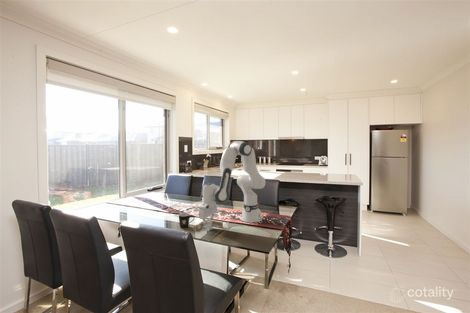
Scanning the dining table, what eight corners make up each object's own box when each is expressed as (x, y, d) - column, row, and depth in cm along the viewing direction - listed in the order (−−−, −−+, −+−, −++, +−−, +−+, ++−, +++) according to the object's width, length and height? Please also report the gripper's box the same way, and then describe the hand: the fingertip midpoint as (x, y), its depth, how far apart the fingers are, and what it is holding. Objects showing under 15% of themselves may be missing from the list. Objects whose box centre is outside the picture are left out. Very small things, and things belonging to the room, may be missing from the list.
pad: (205, 226, 187) (205, 226, 187) (213, 228, 184) (213, 228, 184) (201, 229, 182) (201, 229, 182) (208, 231, 178) (208, 230, 178)
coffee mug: (176, 228, 184) (176, 215, 183) (182, 224, 192) (181, 212, 191) (190, 229, 180) (190, 217, 180) (195, 226, 189) (195, 213, 188)
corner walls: (206, 224, 193) (206, 219, 193) (222, 227, 186) (222, 222, 186) (194, 230, 179) (194, 225, 178) (211, 234, 171) (211, 229, 171)
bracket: (201, 228, 182) (201, 222, 182) (205, 226, 186) (205, 220, 186) (209, 230, 179) (209, 223, 178) (213, 228, 183) (213, 221, 183)
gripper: (212, 200, 193) (212, 216, 194) (197, 206, 175) (197, 224, 177) (219, 201, 190) (219, 217, 191) (204, 207, 172) (204, 226, 174)
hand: (208, 221), depth 184 cm, fingers open, 8 cm apart
